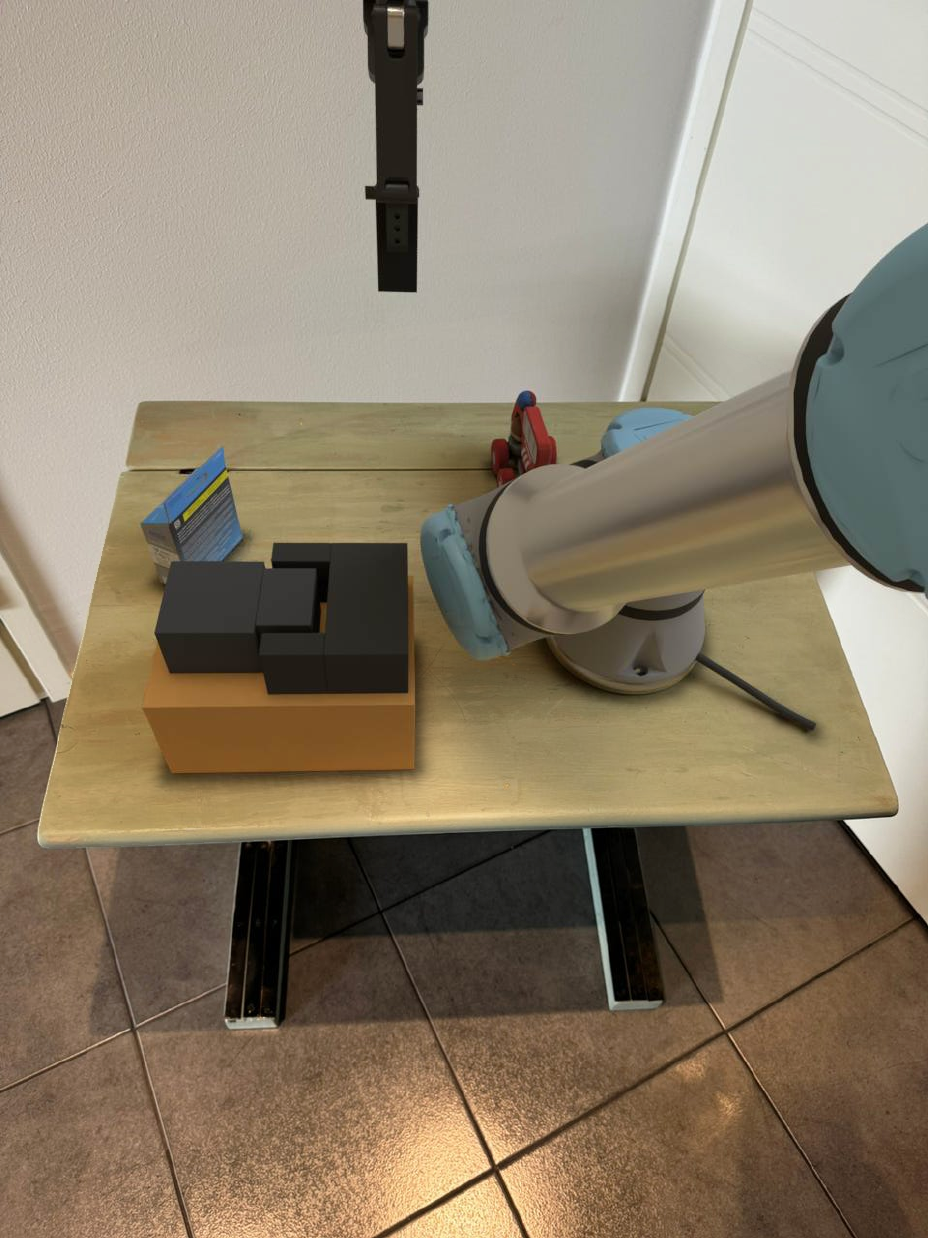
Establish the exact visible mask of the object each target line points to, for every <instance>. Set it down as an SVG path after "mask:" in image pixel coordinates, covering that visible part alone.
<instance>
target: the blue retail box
mask: <svg viewBox="0 0 928 1238" xmlns="http://www.w3.org/2000/svg"><path fill="white" fill-rule="evenodd" d="M229 478H230V477H229V473H228V468H227V465H226V459H225V449H224V446H223V445H221V446H220V447H219V448H218V449H217V450H216V451H215V453H213V454H212V455H211V456H210V457H209V458H208V459H207V460H206V461H205V462H204V463H202V465H201V466H198V467H196V468H195V469H194V470H193V471H192V472H191V473H190V474H189V475H188V476H187V477H186V478H184V480H183V481H182V482H181V483H180V484H179V485H178V486H177V487H176V488H175V489H174V490H173V491H172V492H171V493H170V494H169V495H167V497H166V498H164V500H163V501H162V502H160V504H158V505H157V506H156V508H155V509H153V511H151V512H150V513H149V514H148V515H147V516H146V517H145V518H144V519H143V521H141V522H140V528H141V529H142V533H143V536H144V538H145V541H146V545H147V547H148V550H149V554H150V556H151V559H152V561H153V562H152V563H153V564H154V567H155V570H156V573H157V576H158V578H159V581H160V583H161V584H162V585H164V586H166V581H167V577H168V573H169V569H170V565H171V561H224V559H225V558H227V556H228V555H229V554H230V553H231V552H232V550H234V548H235V547H236V546H237V545H238V544H239V543H240V541H241V540H242V539H243V538H244V537H243V534H242V530H241V524H240V520H239V516H238V512H237V511H238V510H237V508H236V503H235V499H234V494H233V489H232V486H231V481H230V479H229Z"/></svg>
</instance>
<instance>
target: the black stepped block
mask: <svg viewBox="0 0 928 1238" xmlns="http://www.w3.org/2000/svg"><path fill="white" fill-rule="evenodd" d="M320 617H321V605H320V597H319V589H318V581H317V573H316V569H315V568H272V567H266V564H265V561H263V560H262V561H260V560H259V561H254V560H252V561H251V560H249V561H248V560H245V561H244V560H243V561H242V560H241V561H239V560H238V561H236V560H234V561H232V560H231V561H230V560H226V561H225V560H222V561H171V565H170V569H169V573H168V577H167V581H166V585H164V590H163V594H162V599H161V602H160V607H159V611H158V615H157V620H156V624H155V628H154V632H153V634H154V636H155V638H156V643H157V642H158V644H159V647H160V649H161V652H162V655H163V657H164V660H165V663H166V665H167V668H168V670H169V673H263V671H262V667H261V662H260V658H259V649H260V642H261V634H262V633H319V629H320Z"/></svg>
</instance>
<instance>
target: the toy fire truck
mask: <svg viewBox="0 0 928 1238" xmlns="http://www.w3.org/2000/svg"><path fill="white" fill-rule="evenodd" d="M536 405H537V396H536V394H535V393H534V392H532V390H523V391H521V392H519V394H518V396H517V398H516V400H515V403H514V406H513V409H512V412H511V418H510V427H509V428H510V429H509V436H508V439H506V438H503V437H502V438H494V439H493V440H492V442H491V447H490V448H491V449H490V460H491V467H492V471H493V474H494V475H495V476H496V489H497V488H499V487H501V486H502V485H504V484H506V483H508V482H510V481H512V480H513V479H515V478H517V476H516V473H515V471H514V469H513V468H511V467H510V462H514V464H515V467H516V468H517V472H518V474H519V476H521V475H523V474H524V473H526V472H528V471H531V470H533V469H535V468H538V467H541V466H546V465H551V464H557V462H558V461H557V460H558V459H557V458H558V453H557V452H558V451H557V443H556V440H555V438H554V437H553V436H551V435H549V433H548V430H547V427H546V424H545V422H544V419H543V416H542V413H541V410H540V408H539V407H538V406H536Z"/></svg>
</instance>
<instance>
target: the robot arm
mask: <svg viewBox="0 0 928 1238" xmlns="http://www.w3.org/2000/svg"><path fill="white" fill-rule="evenodd" d="M429 6H430V5H429V0H362V21H363V30H364V33H365V34H366V36H367V71H368V72H367V73H368V78H369V80H370V81H371V82H372V83H374V92H375V93H374V97H375V152H376V153H375V165H376V169H375V170H376V173H375V174H376V183H375V184H374V185H364V197H365V198H364V199H365V200H369V201H370V200H371V201H375V227H376V228H375V229H376V230H375V231H376V233H375V234H376V259H377V260H376V264H377V265H376V267H377V269H376V270H377V292H378V293H379V292H380V293H416V294H417V293H418V237H419V236H418V235H419V234H418V231H419V230H418V229H419V198H420V188H419V185H418V106H421V107H422V106H424V87H418V86H419V85H421V84H422V83H423V81H424V78H425V39H426V37H427V36H428V34H429V15H430V14H429V8H430V7H429ZM419 544H420V545H419V546H420V552H421V558H422V563H423V567H424V572H425V574H426V577H427V580H428V584H429V587H430V589H431V592H432V595H433V597H434V600H435V602H436V604H437V607H438V609H439V611H440V613H441V616H442V618H443V620H444V621H445V623H446V625H447V627H448V629H449V631H450V633H451V634H452V635H453V637H454V639H455V640H456V642H457V644H458V645H459V646H460V647H461V648H462V650H463V651H464V652H465V653H466V654H467V655H468V656H470V657H471V658H473V659H475V660H478V661H482V662H483V661H484V662H486V661H490V660H493V659H496V658H498V657H502V656H504V657H508V656H509V655H510V654H511V651H513V650H516V649H519V648H520V647H523V646H525V645H528V644H531V643H533V642H535V641H539V640H542V639H546V642H547V645H548V647H549V649H550V651H551V652H552V655H554V657H555V658H556V660H557V661H558V662H559V663H560V664H561V665H562V666H563V667H564V668H565V669H566V670H567V671H568V672H569V673H571V674H572V675H573V676H575V677H576V678H578V679H579V680H581V681H583V682H585V683H586V684H589V685H591V686H593V687H595V688H597V689H601V690H603V691H607V692H611V693H616V694H621V695H646V694H652V693H657V692H661V691H663V690H666V689H668V688H671V687H673V686H674V685H676V684H678V683H679V682H681V681H682V680H683V679H684V678H685V677H687V675H688V674H689V673H690V672H691V670H693V668H694V666H695V664H697V662H698V663H699V664H701V665H702V666H704V667H706V668H708V669H709V670H711V671H712V672H714V673H715V674H717V675H718V676H720V677H721V678H724V680H727V681H728V682H730V683H731V684H733V685H735V686H736V687H737V688H739V689H741V690H742V691H744V692H745V693H747V694H748V695H750V696H751V697H752V698H754V699H755V700H757V701H758V702H760V703H762V704H763V705H765V706H766V707H768V708H769V709H771V710H773V711H774V712H776V713H777V714H779V715H781V716H782V717H784V718H786V719H788V720H789V721H792V722H793V723H795V724H798V725H799V726H801V727H803V728H805V729H807V730H809V731H811V732H814V729H815V728H816V727H817V722H815V721H813V720H811V719H809V718H807V717H805V716H803V715H801V714H799V713H797V712H795V711H794V710H791V709H790V708H788V707H786V706H785V705H783V704H781V703H779V702H778V701H776V700H775V699H773V698H771V697H770V696H768V695H767V694H765V693H763V692H762V691H761V690H759V689H758V688H757V687H755V686H753V685H752V684H750V683H748V682H747V681H746V680H744V679H743V678H741V677H740V676H738V675H737V674H735V673H733V672H731V671H730V670H729V669H726V668H725V667H723V666H722V665H721V664H718V663H717V662H715V660H713V659H711V658H709V657H707V656H705V654H702V653H701V651H702V649H703V647H704V643H705V638H706V622H705V603H704V593H705V591H706V590H712V589H716V588H723V587H728V586H736V585H741V584H748V583H753V582H759V581H765V580H770V579H771V580H773V579H776V578H784V577H789V576H795V575H802V574H808V573H813V572H820V571H825V570H831V569H832V570H833V569H839V568H845V567H849V566H852V568H854V569H855V570H856V571H858V572H860V573H861V574H863V575H864V576H865V577H867V579H870V580H872V581H874V582H876V583H878V584H879V585H882V586H884V587H886V588H890V589H893V590H896V591H897V592H902V593H909V594H915V595H916V594H918V595H919V594H921V595H922V594H923V595H924V596H925V599H926V600H927V601H928V222H927V223H925V224H924V225H922V226H920V227H919V228H918V229H916V230H915V231H913V232H911V233H910V234H909V235H908V236H906V237H905V238H904V239H902V241H900V242H899V243H897V244H896V245H895V246H894V247H893V248H891V250H890V251H888V252H887V253H886V254H885V255H884V256H883V257H882V258H880V260H878V262H877V263H876V264H875V265H874V266H873V267H872V268H871V269H870V270H869V271H868V273H866V274H865V276H864V277H863V278H862V280H861V281H859V282H858V283H857V285H856V287H855V288H854V289H853V291H852V292H850V293H848V294H846V295H844V296H843V297H841V298H840V299H838V300H837V301H836V302H834V303H833V304H832V305H830V307H828V308H827V309H826V310H825V311H824V312H823V313H822V314H821V315H820V316H819V317H818V318H817V319H816V321H815V322H814V323H813V324H812V325H811V327H810V329H809V330H808V332H807V333H806V335H805V337H804V339H803V341H802V343H801V344H800V348H799V350H798V352H797V355H796V357H795V360H794V363H793V367H792V368H789V369H788V370H785V371H784V372H781V373H779V374H778V375H776V376H773V377H771V378H769V379H767V380H765V381H762V382H761V383H759V384H757V385H755V386H752V387H751V388H748V389H746V390H745V391H743V392H741V393H738V394H736V395H735V396H732V397H730V398H728V399H726V400H724V401H722V402H720V403H718V404H715V405H714V406H712V407H709V408H708V409H705V410H704V411H701V412H699V413H698V414H695V415H691V414H688V413H684V412H681V411H679V410H675V409H670V408H664V407H640V408H634V409H629V410H627V411H624V412H622V413H620V414H618V415H617V416H616V417H614V418H613V419H612V420H611V421H610V423H609V424H608V426H607V428H606V430H605V431H604V432H603V435H602V436H601V438H600V450H599V451H598V452H596V454H593V455H591V456H588V457H586V458H583V459H580V460H578V461H575V462H572V463H569V464H563V463H556V464H551V465H546V466H541V467H538V468H535V469H533V470H531V471H528V472H526V473H524V474H523V475H521V476H520V475H519V476H516V478H515V479H513V480H512V481H510V482H508V483H506V484H504V485H502V486H501V487H499V488H497V487H496V488H495V489H493V490H490V491H488V492H486V493H484V494H482V495H479V496H477V497H473V498H471V499H469V500H465V501H463V502H461V503H457V504H455V505H454V504H453V503H449V504H447V505H446V506H445V508H443V509H442V510H441V509H440V510H439V511H437V512H435V513H432V514H430V515H429V516H427V517H426V518H425V520H424V521H423V523H422V524H421V528H420V531H419Z"/></svg>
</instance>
